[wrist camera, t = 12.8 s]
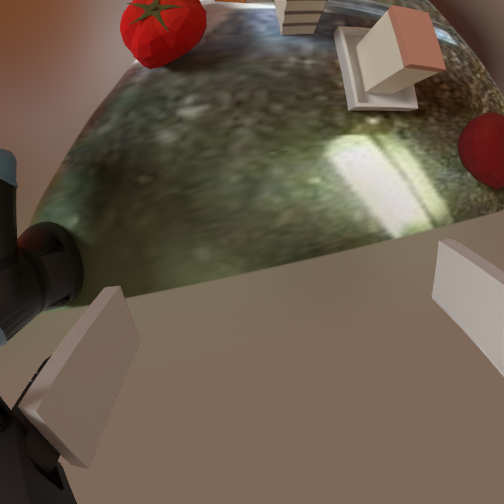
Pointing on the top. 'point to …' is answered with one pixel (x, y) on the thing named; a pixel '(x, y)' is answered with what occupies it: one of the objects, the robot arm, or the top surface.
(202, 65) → the top surface
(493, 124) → the apple
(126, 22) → the tomato
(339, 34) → the tray
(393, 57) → the stub
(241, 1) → the supplement box
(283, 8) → the block
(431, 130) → the top surface
